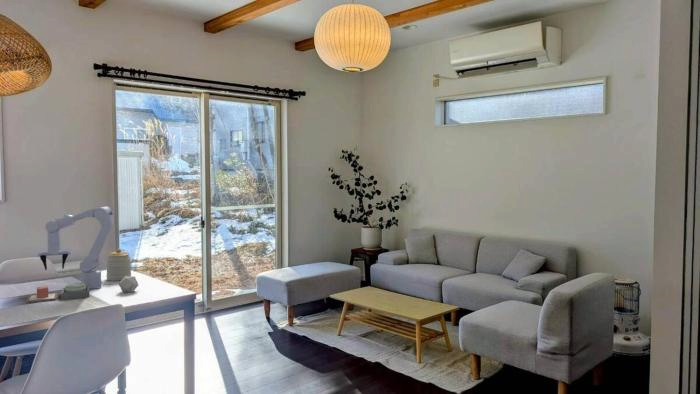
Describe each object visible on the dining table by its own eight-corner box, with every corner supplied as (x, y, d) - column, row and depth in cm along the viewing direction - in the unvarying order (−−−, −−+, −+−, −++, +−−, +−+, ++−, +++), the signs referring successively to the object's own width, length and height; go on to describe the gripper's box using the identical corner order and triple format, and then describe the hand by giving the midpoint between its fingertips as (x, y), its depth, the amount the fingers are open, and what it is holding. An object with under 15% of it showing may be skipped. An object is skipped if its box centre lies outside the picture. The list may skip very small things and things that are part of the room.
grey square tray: (89, 291, 249) (89, 285, 249) (89, 296, 238) (89, 290, 238) (62, 293, 243) (62, 288, 243) (61, 299, 232) (61, 293, 232)
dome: (86, 288, 247) (86, 281, 247) (86, 292, 239) (86, 285, 238) (65, 290, 242) (65, 283, 242) (64, 294, 234) (64, 287, 234)
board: (57, 294, 242) (57, 292, 242) (56, 300, 232) (56, 298, 231) (29, 297, 236) (29, 295, 236) (26, 302, 226) (26, 301, 226)
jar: (124, 281, 272) (124, 250, 271) (101, 281, 272) (101, 250, 271) (135, 276, 285) (134, 246, 284) (113, 276, 285) (113, 246, 284)
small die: (47, 295, 237) (47, 286, 237) (48, 297, 234) (48, 287, 233) (36, 296, 235) (36, 287, 234) (37, 298, 231) (37, 289, 231)
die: (125, 295, 243) (138, 279, 246) (112, 286, 245) (125, 270, 247) (132, 297, 251) (144, 282, 254) (119, 288, 252) (131, 273, 255)
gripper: (70, 241, 260) (70, 266, 260) (38, 243, 253) (38, 268, 253) (69, 243, 254) (70, 268, 254) (37, 244, 247) (37, 271, 247)
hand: (54, 268), depth 253 cm, fingers open, 7 cm apart
